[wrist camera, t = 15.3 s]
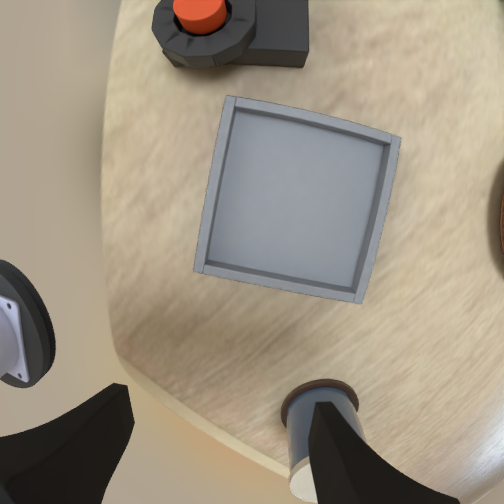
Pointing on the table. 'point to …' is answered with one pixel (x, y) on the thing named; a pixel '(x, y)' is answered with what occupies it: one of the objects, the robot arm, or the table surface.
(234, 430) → the table surface
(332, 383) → the coaster
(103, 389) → the robot arm
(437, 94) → the table surface
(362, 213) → the tray
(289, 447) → the canister
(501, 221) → the cup and saucer
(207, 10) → the button
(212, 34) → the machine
